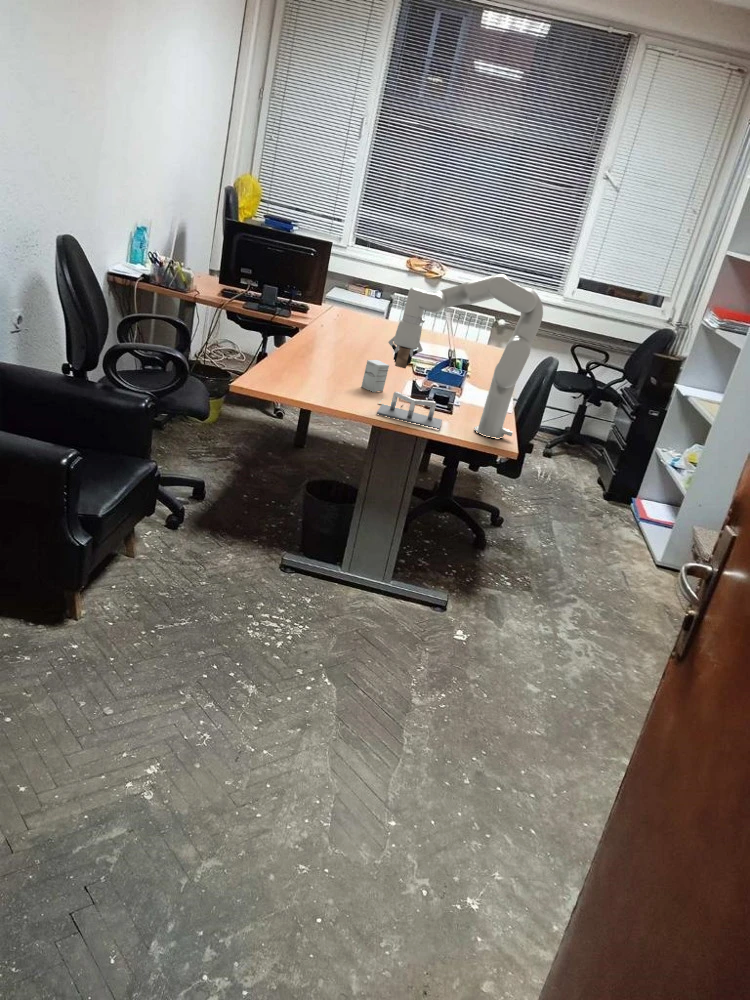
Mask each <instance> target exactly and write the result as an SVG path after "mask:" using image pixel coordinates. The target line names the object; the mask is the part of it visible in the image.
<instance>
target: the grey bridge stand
mask: <svg viewBox="0 0 750 1000" xmlns="http://www.w3.org/2000/svg"><path fill="white" fill-rule="evenodd" d="M398 399H400V400H403V401H405V402H407V403H409V404H410V405H409V408H408V411H409V412H408V416H407V417H408V418H412V416H413V412H414V411H415V407H416V405H417V406H418V405H420V406H427V407H428V406H430V408H429V411H428V415H427V416H428V418H427V419H428V420H432V419H433V418H434V414H435V410H436V407H437V402H436V401H434V400H426V399H417V398H413V397H410V396H408V395H406V394H404V393H401V392H399V391H394V392H393V394H392V398H391V400H392V402H391V407H390V410H395V406H396V402H398ZM414 413H415V412H414Z"/></svg>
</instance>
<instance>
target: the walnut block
mask: <svg viewBox="0 0 750 1000" xmlns="http://www.w3.org/2000/svg"><path fill="white" fill-rule="evenodd" d="M409 354H410V349H409V348H405V347H401V346H400V347H399V350H398V355H397V359H396V363H395V362H394V363H395V364H394V367H396V368H397V367H398V368H402V369H406V368H407V361H408V357H409Z"/></svg>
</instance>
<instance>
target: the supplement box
mask: <svg viewBox="0 0 750 1000" xmlns="http://www.w3.org/2000/svg"><path fill="white" fill-rule="evenodd" d="M389 368H390V365H389V364H387V363H385V362H383V361H381V360H379V359H367V361H366V364H365V369H364V374H363V378H362V382H361V388H363V389H366V390H367V391H369V390H370V391H369V392H371V391H372V392H371V393H377V392H376V391H383V392H384V388H385V384H386V380H387V376H388V372H389Z"/></svg>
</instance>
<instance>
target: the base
mask: <svg viewBox="0 0 750 1000" xmlns="http://www.w3.org/2000/svg"><path fill="white" fill-rule="evenodd" d="M390 407H391V406H388V405H384V404H382V405H380V407H379V408H378V410H377V411H376V415H377V414H379V415H383V416H387V417H390V418H389V419H391V418H395V419H399V420H403V421H407V422H411V423H416V424H420V425H424V426H428V427H433V428H437V429H439V430H441V426H442V423H443V419H441V418H437V417H433V419H432V420H428V419H427V418H428V415H425V414H421V413H418V412H413V416H412V418H408V417H407V416H408V412H409V410H406V409H399V408H395V410H390ZM379 415H378V416H379ZM383 416H382V417H383ZM387 417H386V418H387ZM395 419H394V420H395Z"/></svg>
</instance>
